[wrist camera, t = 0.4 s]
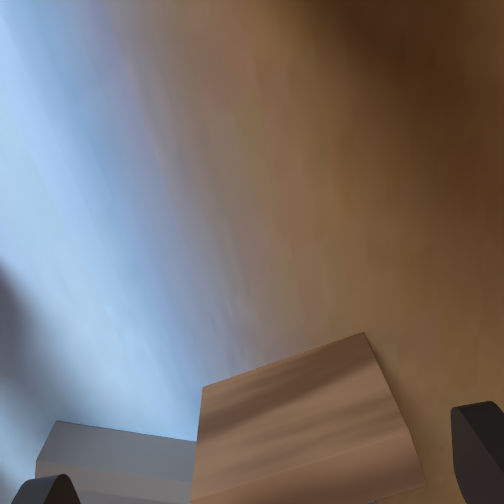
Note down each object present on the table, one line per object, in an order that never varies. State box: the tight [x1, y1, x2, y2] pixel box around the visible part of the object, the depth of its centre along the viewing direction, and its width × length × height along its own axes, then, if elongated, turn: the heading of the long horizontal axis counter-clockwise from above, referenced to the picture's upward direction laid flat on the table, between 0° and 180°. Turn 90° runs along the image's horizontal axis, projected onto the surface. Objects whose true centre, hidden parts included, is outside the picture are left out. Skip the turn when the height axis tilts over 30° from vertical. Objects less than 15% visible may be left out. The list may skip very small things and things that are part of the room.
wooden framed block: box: [190, 332, 428, 504], centre depth 28 cm, size 4×12×9 cm, turn 112°
